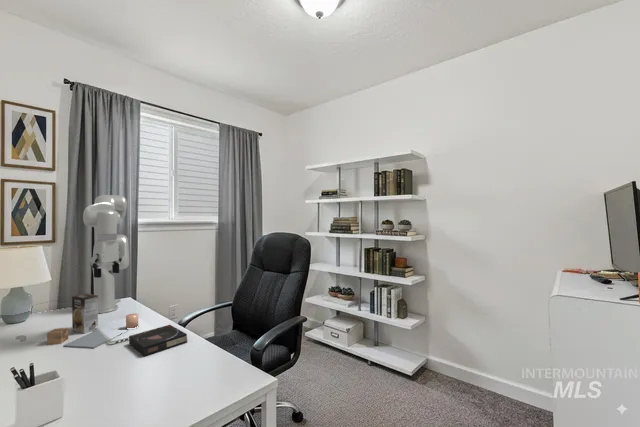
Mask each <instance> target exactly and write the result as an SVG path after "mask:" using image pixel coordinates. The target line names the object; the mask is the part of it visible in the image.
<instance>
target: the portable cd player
mask: <svg viewBox="0 0 640 427" xmlns="http://www.w3.org/2000/svg"><path fill="white" fill-rule="evenodd" d="M128 343H129V344H128V345H129V346H130V347H131V348H132V349H134V350H135V351H136V352H138V353H139V354H140V355H141V356H142V357H147V356H150V355H154V354H157V353H161V352H163V351H165V350H169V349H171V348H174V347H177V346H180V345H183V344H186V343H188V336H187V333H186V332H184V331H182V330H181V329H179V328H177V327H175V326H173V325H171V324H168V325H164V326H160V327H156V328H153V329H149V330H145V331H142V332H138V333H135V334H131V335H129V336H128Z"/></svg>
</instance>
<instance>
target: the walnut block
mask: <svg viewBox="0 0 640 427" xmlns="http://www.w3.org/2000/svg"><path fill="white" fill-rule="evenodd" d="M68 339H69V327H59V328H58V327H57V328H54V329H52V330H50V331H49V332H47V333H46V346H49V345H51V346H53V345H61V344H63V343H64V342H66V341H67V340H68Z"/></svg>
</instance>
